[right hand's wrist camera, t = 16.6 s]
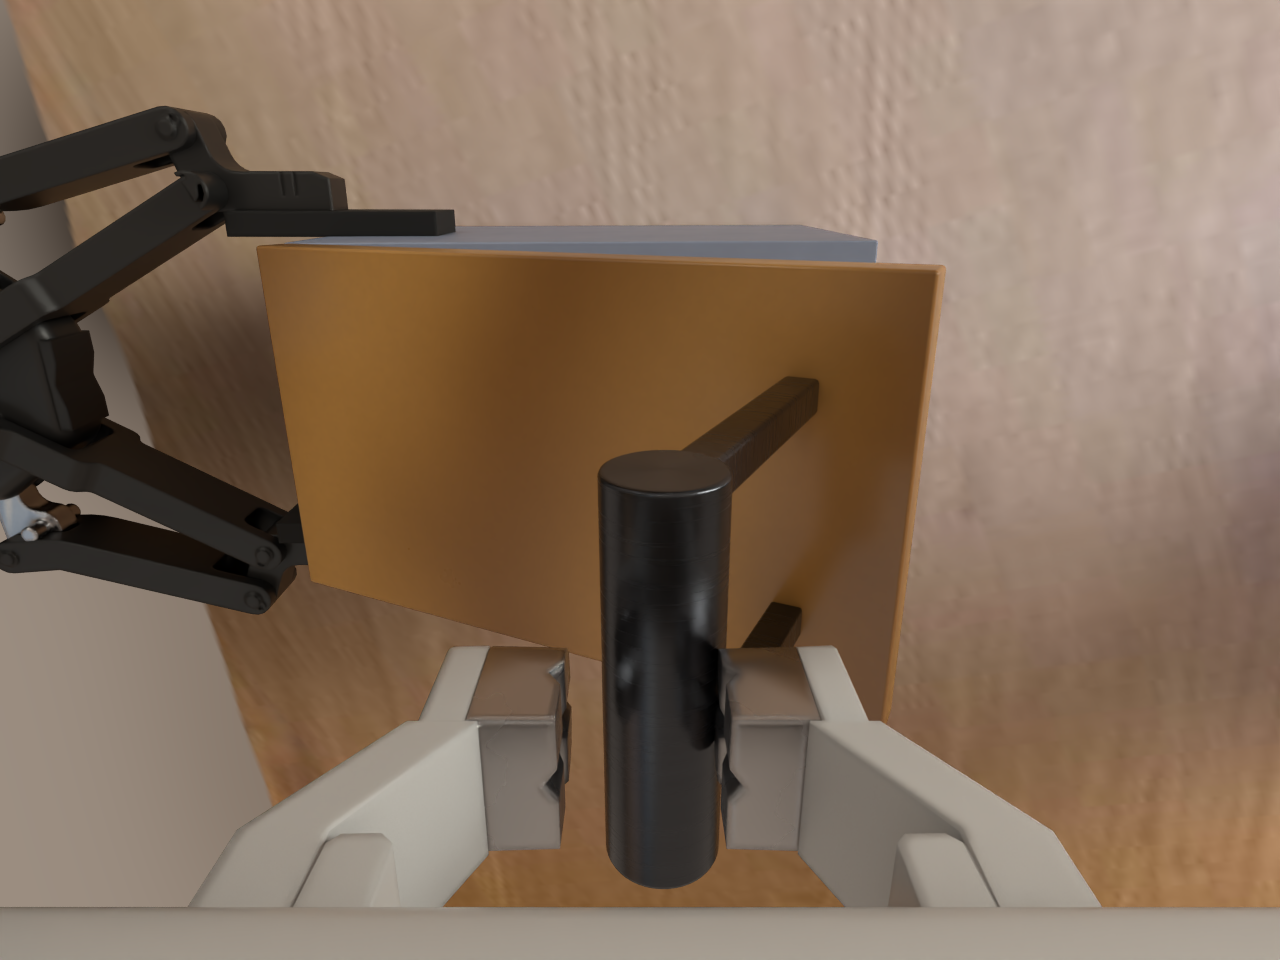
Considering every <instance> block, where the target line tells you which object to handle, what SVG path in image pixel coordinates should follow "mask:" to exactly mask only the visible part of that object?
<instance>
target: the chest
mask: <svg viewBox="0 0 1280 960" xmlns="http://www.w3.org/2000/svg"><path fill="white" fill-rule="evenodd" d="M455 230H456V232H453V233H449V234H445V235H440V236H352V237H322V238H316V239H309V240H302V241H295V242H288V243H284V244H290V243H292V244H322V245H352V246H382V247H412V248H443V249H473V250H503V251H533V252H563V253H594V254H624V255H654V256H684V257H714V258H745V259H775V260H805V261H835V262H865V263H876V256H877V246H878V241H876V240H871V239H867V238H862V237H857V236H852V235H847V234H842V233H837V232H832V231H828V230H823V229H818V228H813V227H808V226H803V225H679V226H455Z"/></svg>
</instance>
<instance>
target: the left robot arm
mask: <svg viewBox="0 0 1280 960" xmlns="http://www.w3.org/2000/svg"><path fill="white" fill-rule="evenodd" d="M226 137H227V136H226V131H225V128H224V126H223V125H222V123H221V121H220V120H218V119H217V118H216V117H215V116H212V115H210V114H206V113H201V112H196V111H190V110H185V109H180V108H174V107H169V106H159V107H155V108H152V109H149V110H146V111H142V112H139V113H136V114H133V115H130V116H127V117H123V118H120V119H117V120H114V121H111V122H108V123H104V124H101V125H98V126H95V127H92V128H89V129H85V130H82V131H79V132H76V133H73V134H70V135H66V136H63V137H60V138H57V139H54V140H51V141H47V142H44V143H41V144H38V145H35V146H32V147H28V148H25V149H22V150H19V151H16V152H13V153H10V154H6V155H3V156H0V225H2V224H4V222H5V215H4V213H3V211H19V210H29V209H33V208H37V207H42V206H45V205H48V204H51V203H55V202H58V201H61V200H64V199H68V198H71V197H74V196H77V195H81V194H84V193H87V192H90V191H94V190H97V189H100V188H103V187H106V186H110V185H113V184H116V183H119V182H123V181H126V180H129V179H132V178H136V177H139V176H142V175H145V174H149V173H152V172H155V171H158V170H162V169H165V168H168V167H171V166H175V167H176V169H177V172H175V173H174V174H175V175H176V176H180V177H181V178H180V179H178V180H177V181H175V182H174V183H172V184H171V185H169V186H168V187H166V188H165V189H163V190H162V191H160V192H159V193H157V194H156V195H154V196H153V197H151V198H150V199H148V200H147V201H145V202H143V203H142V204H140V205H139V206H137V207H136V208H134V209H133V210H131V211H130V212H128V213H127V214H125V215H124V216H122V217H121V218H119V219H118V220H116V221H115V222H113V223H112V224H110V225H109V226H107V227H106V228H104V229H103V230H101V231H100V232H98V233H97V234H95V235H94V236H92V237H91V238H89V239H88V240H86V241H85V242H83V243H82V244H80V245H79V246H77V247H76V248H74V249H73V250H71V251H70V252H68V253H67V254H65V255H64V256H62V257H61V258H59V259H58V260H56V261H55V262H53V263H52V264H50V265H49V266H47V267H46V268H44V269H43V270H41V271H40V272H38V273H36V274H34V275H32V276H29V277H26V278H24V279H21V280H19V281H17V280H15V279H13V278H12V277H10V276H9V275H7V274H5V273H4V272H2V271H0V521H1V523H2V526H3V528H4V531H5V534H6V536H7V539H6V540H4V541H3V542H1V543H0V569H1V570H3V571H5V572H8V573H24V572H38V571H51V570H63V571H67V572H72V573H76V574H80V575H85V576H89V577H93V578H98V579H102V580H106V581H111V582H115V583H119V584H124V585H128V586H133V587H137V588H141V589H145V590H150V591H154V592H159V593H163V594H167V595H172V596H176V597H181V598H185V599H189V600H194V601H198V602H202V603H206V604H211V605H215V606H219V607H224V608H228V609H232V610H237V611H241V612H246V613H250V614H262V613H265V612H266V611H267V610H268V609H269V608H270V607H271V606H272V605H273V603H274V602H275V601H276V600H277V599H278V598H279V597H280V595H281V594H282V593H283V592H284V591H285V590H286V589H287V587H288V586H289V585H290V584H291V583H292V582H293V581H294V579H295V577H296V575H297V572H296V568H295V565H308V560H307V554H306V548H305V542H304V536H303V530H302V523H301V517H300V511H299V505H298V504H297V505H296V506H295V507H293V508H292V509H291V510H290V511H289V512H287V511H285V510H283V509H281V508H278V507H276V506H274V505H272V504H270V503H268V502H266V501H264V500H262V499H259V498H257V497H255V496H253V495H251V494H249V493H247V492H245V491H243V490H240V489H238V488H236V487H234V486H232V485H230V484H228V483H226V482H224V481H221V480H219V479H217V478H215V477H213V476H211V475H209V474H207V473H205V472H202V471H200V470H198V469H196V468H194V467H192V466H190V465H188V464H186V463H183V462H181V461H179V460H177V459H175V458H173V457H171V456H169V455H167V454H164V453H162V452H160V451H158V450H156V449H154V448H152V447H150V446H148V445H145V444H144V443H142V442H141V441H140V436H139V435H138V434H137V433H135V432H134V431H132V430H130V429H128V428H126V427H123V426H121V425H119V424H117V423H115V422H113V421H111V420H109V419H107V418H105V417H107V416H109V413H108V409H107V405H106V401H105V396H104V394H103V392H102V390H101V388H100V386H99V384H98V382H97V380H96V378H95V376H94V373H93V367H94V350H93V345H92V341H91V337H90V333H89V331H87V330H81V329H80V327H79V326H78V324H77V322H79V321H80V320H82V319H84V318H85V317H87V316H88V315H90V314H91V313H93V312H94V311H96V310H97V309H99V308H101V307H102V306H104V305H105V304H107V303H108V302H109V301H110V300H109V298H110V297H112V296H113V295H115V294H116V293H118V292H120V291H121V290H123V289H124V288H126V287H127V286H129V285H130V284H132V283H133V282H135V281H137V280H138V279H140V278H141V277H143V276H144V275H146V274H147V273H149V272H151V271H152V270H154V269H155V268H157V267H158V266H160V265H161V264H163V263H165V262H166V261H168V260H169V259H171V258H172V257H174V256H175V255H177V254H178V253H180V252H182V251H183V250H185V249H186V248H188V247H189V246H191V245H192V244H194V243H196V242H197V241H199V240H200V239H202V238H203V237H205V236H206V235H208V234H210V233H211V232H213V231H214V230H216V229H217V228H219V227H220V226H222V225H223V224H225V225H226V231H227V237H352V236H440V235H445V234H449V233H453V232H456V230H455V216H454V210H359V209H348V204H347V196H346V187H345V179H343V178H341V177H338V176H336V175H333V174H331V173H329V172H314V171H248V170H246V169H244V168H243V167H241V166H240V165H239V164H238V163H237V162H236V161H235V160H234V158H233V157H232V155H231V153H230V151H229V149H228V147H227V145H226ZM44 480H45V481H47V482H49V483H51V484H54V485H56V486H58V487H60V488H62V489H65V490H68V491H73V492H92V493H94V494H96V495H99V496H101V497H103V498H105V499H107V500H110V501H112V502H114V503H116V504H118V505H120V506H123V507H125V508H127V509H129V510H131V511H134V512H136V513H138V514H140V515H142V516H145V517H147V518H149V519H151V520H153V521H155V522H158V523H160V524H162V525H164V526H166V527H169V528H171V529H173V530H175V531H177V532H174V531H170V530H166V529H161V528H157V527H153V526H149V525H145V524H140V523H136V522H132V521H128V520H124V519H119V518H115V517H109V516H104V515H92V514H91V515H80V513H81V512H80V509H79V507H78V506H77V505H75V504H67V505H63V504H60V503H54V502H51V501H48V500H46V499H45V498H44V497H42V496H41V494H40V493H39V492H38V490H37V488H36V486H38V485H39V484H40V483H42V482H43V481H44ZM178 532H179V533H178Z"/></svg>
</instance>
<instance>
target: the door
mask: <svg viewBox="0 0 1280 960" xmlns="http://www.w3.org/2000/svg"><path fill="white" fill-rule="evenodd" d="M257 255H258V261H259V267H260V273H261V279H262V285H263V292H264V298H265V304H266V310H267V316H268V322H269V328H270V334H271V340H272V346H273V353H274V359H275V365H276V371H277V377H278V383H279V389H280V395H281V401H282V408H283V414H284V420H285V426H286V432H287V438H288V444H289V450H290V456H291V462H292V469H293V475H294V481H295V487H296V493H297V499H298V505H299V511H300V517H301V523H302V530H303V536H304V542H305V548H306V554H307V560H308V566H309V572H310V578H311V581H312V582H315V583H319V584H323V585H326V586H330V587H333V588H337V589H341V590H344V591H348V592H352V593H355V594H359V595H362V596H366V597H370V598H373V599H377V600H381V601H384V602H388V603H391V604H395V605H399V606H402V607H406V608H410V609H413V610H417V611H421V612H424V613H428V614H431V615H435V616H439V617H442V618H446V619H450V620H453V621H457V622H460V623H464V624H468V625H471V626H475V627H479V628H482V629H486V630H489V631H493V632H497V633H500V634H504V635H508V636H511V637H515V638H519V639H522V640H526V641H529V642H533V643H537V644H540V645H544V646H548V647H555V648H568V652H569V653H573V654H577V655H580V656H584V657H588V658H591V659H595V660H598V661H602V693H603V735H604V778H605V820H606V848H607V852H608V856H609V858H610V860H611V862H612V863H613V865H614V866H615V868H616V869H617V870H618V871H619V872H620V873H621V874H622V875H623V876H624V877H626V878H627V879H629V880H630V881H632V882H634V883H637V884H639V885H642V886H645V887H649V888H655V889H672V888H678V887H682V886H685V885H688V884H690V883H692V882H694V881H696V880H698V879H699V878H701V877H702V876H703V875H704V874H705V873H706V872H707V871H708V870H709V869H710V868H711V866H712V864H713V863H714V861H715V859H716V856H717V853H718V845H719V820H720V794H721V784H720V783H719V782H718V781H717V774H716V765H715V753H714V733H715V711H716V709H717V706H718V704H719V698H718V691H717V684H716V676H717V653H718V649H731V648H771V647H804V646H829V645H832V646H833V647H835V648H836V649H837V650H838V653H839V655H840V657H841V659H842V662H843V664H844V666H845V668H846V671H847V673H848V675H849V677H850V680H851V682H852V684H853V686H854V689H855V691H856V693H857V695H858V698H859V700H860V702H861V704H862V707H863V709H864V711H865V713H866V716H867V718H868V720H869V721H881V722H883V723H884V724H886V723H887V720H888V717H889V713H890V710H891V704H892V696H893V688H894V680H895V672H896V664H897V656H898V648H899V640H900V632H901V624H902V616H903V608H904V600H905V592H906V584H907V576H908V568H909V560H910V552H911V544H912V536H913V528H914V520H915V512H916V504H917V496H918V488H919V480H920V472H921V464H922V456H923V449H924V441H925V433H926V425H927V417H928V409H929V401H930V393H931V385H932V377H933V369H934V361H935V353H936V345H937V337H938V329H939V321H940V313H941V305H942V297H943V289H944V281H945V273H946V268H945V266H943V265H926V264H896V263H865V262H835V261H805V260H775V259H745V258H714V257H684V256H654V255H624V254H594V253H563V252H533V251H503V250H473V249H443V248H412V247H382V246H352V245H322V244H292V243H290V244H276V245H262V246H258V247H257Z"/></svg>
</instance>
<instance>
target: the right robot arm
mask: <svg viewBox="0 0 1280 960" xmlns="http://www.w3.org/2000/svg"><path fill="white" fill-rule="evenodd" d="M569 682H570V666H569V653H568V648H555V647H504V646H493V647H490V646H454V647H452V648H450V649H449V650H448V652H447V654H446V656H445V659H444V661H443V664H442V666H441V668H440V671H439V673H438V675H437V678H436V680H435V682H434V685H433V687H432V689H431V692H430V694H429V697H428V699H427V701H426V704H425V706H424V708H423V711H422V713H421V715H420V718H419V720H418V721H406V722H404V723H403V724H401V725H400V726H398V727H397V728H395V729H393V730H392V731H390V732H389V733H387V734H386V735H384V736H383V737H381V738H379V739H378V740H376V741H375V742H373V743H372V744H370V745H369V746H367V747H365V748H364V749H362V750H361V751H359V752H358V753H356V754H355V755H353V756H351V757H350V758H348V759H347V760H345V761H344V762H342V763H340V764H339V765H337V766H336V767H334V768H333V769H331V770H330V771H328V772H326V773H325V774H323V775H322V776H320V777H319V778H317V779H316V780H314V781H312V782H311V783H309V784H308V785H306V786H305V787H303V788H301V789H300V790H298V791H297V792H295V793H294V794H292V795H291V796H289V797H287V798H286V799H284V800H283V801H281V802H280V803H278V804H277V805H275V806H273V807H272V808H270V809H269V810H267V811H266V812H264V813H262V814H261V815H259V816H258V817H256V818H255V819H253V820H252V821H250V822H249V823H247V824H245V825H244V826H242V827H241V828H239V829H238V830H237V831H236V832H235V834H234V835H233V837H232V838H231V840H230V841H229V843H228V845H227V846H226V848H225V849H224V851H223V852H222V854H221V856H220V857H219V859H218V860H217V862H216V863H215V865H214V866H213V868H212V870H211V871H210V873H209V874H208V876H207V877H206V879H205V881H204V882H203V884H202V885H201V887H200V888H199V890H198V892H197V893H196V895H195V896H194V898H193V899H192V901H191V902H190V904H189V906H188V907H0V960H1280V907H1102V906H1101V905H1100V903H1099V901H1098V900H1097V898H1096V897H1095V895H1094V894H1093V892H1092V891H1091V889H1090V887H1089V886H1088V884H1087V883H1086V881H1085V880H1084V878H1083V877H1082V875H1081V874H1080V872H1079V870H1078V869H1077V867H1076V866H1075V864H1074V863H1073V861H1072V860H1071V858H1070V857H1069V855H1068V853H1067V852H1066V850H1065V849H1064V847H1063V846H1062V844H1061V843H1060V841H1059V840H1058V838H1057V836H1056V835H1055V833H1054V832H1053V831H1052V830H1050V829H1049V828H1047V827H1046V826H1044V825H1043V824H1041V823H1040V822H1038V821H1036V820H1035V819H1033V818H1032V817H1030V816H1029V815H1027V814H1025V813H1024V812H1022V811H1021V810H1019V809H1018V808H1016V807H1014V806H1013V805H1011V804H1010V803H1008V802H1007V801H1005V800H1003V799H1002V798H1000V797H999V796H997V795H996V794H994V793H992V792H991V791H989V790H988V789H986V788H985V787H983V786H981V785H980V784H978V783H977V782H975V781H974V780H972V779H970V778H969V777H967V776H966V775H964V774H963V773H961V772H960V771H958V770H956V769H955V768H953V767H952V766H950V765H949V764H947V763H945V762H944V761H942V760H941V759H939V758H938V757H936V756H934V755H933V754H931V753H930V752H928V751H927V750H925V749H923V748H922V747H920V746H919V745H917V744H916V743H914V742H912V741H911V740H909V739H908V738H906V737H905V736H903V735H901V734H900V733H898V732H897V731H895V730H894V729H892V728H890V727H889V726H887V725H886V724H884V723H883V722H881V721H869V720H868V718H867V716H866V713H865V711H864V709H863V707H862V704H861V702H860V700H859V698H858V695H857V693H856V691H855V689H854V686H853V684H852V682H851V680H850V677H849V675H848V673H847V671H846V668H845V666H844V664H843V662H842V659H841V657H840V655H839V653H838V650H837V649H836V648H835V647H833V646H832V645H829V646H804V647H771V648H731V649H718V653H717V676H716V684H717V691H718V698H719V704H718V706H717V709H716V711H715V733H714V753H715V765H716V774H717V781H718V782H719V783H720V784H721V785H722V786H721V812H722V819H723V826H724V833H725V840H726V847H727V849H752V850H788V851H798V855H799V856H800V857H801V858H802V859H803V860H804V861H805V863H806V864H807V865H808V866H809V867H810V868H811V869H812V870H813V872H814V873H815V874H816V875H817V876H818V877H819V878H820V879H821V881H822V882H823V883H824V884H825V885H826V886H827V887H828V888H829V890H830V891H831V892H832V893H833V894H834V895H835V896H836V897H837V899H838V900H839V901H840V902H841V903H842V904H843V905H844V906H845V907H443V906H444V905H445V903H446V902H447V901H448V900H449V899H450V898H451V897H452V896H453V894H454V893H455V892H456V891H457V890H458V889H459V888H460V886H461V885H462V884H463V883H464V882H465V881H466V880H467V879H468V877H469V876H470V875H471V874H472V873H473V872H474V871H475V870H476V868H477V867H478V866H479V865H480V864H481V863H482V862H483V861H484V859H485V858H486V857H487V856H488V851H498V850H533V849H560V844H561V837H562V829H563V821H564V813H565V784H566V783H567V782H568V781H569V772H570V760H571V743H572V718H571V706H570V705H569V703H568V702H567V698H568V690H569Z"/></svg>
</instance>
